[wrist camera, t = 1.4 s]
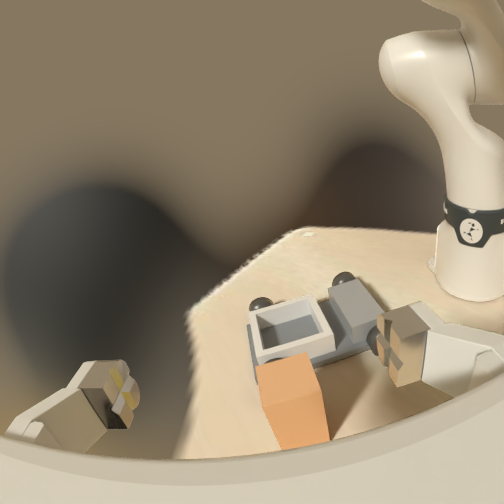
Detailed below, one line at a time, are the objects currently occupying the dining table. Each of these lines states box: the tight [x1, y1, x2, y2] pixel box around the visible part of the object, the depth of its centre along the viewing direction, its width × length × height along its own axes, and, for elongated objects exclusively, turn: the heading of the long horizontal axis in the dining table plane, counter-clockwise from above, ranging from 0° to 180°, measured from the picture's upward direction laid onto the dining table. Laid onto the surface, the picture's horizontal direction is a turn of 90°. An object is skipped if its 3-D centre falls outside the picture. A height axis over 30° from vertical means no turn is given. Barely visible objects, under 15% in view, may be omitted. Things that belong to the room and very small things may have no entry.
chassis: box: [247, 272, 385, 385], centre depth 42 cm, size 20×16×4 cm
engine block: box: [255, 352, 330, 450], centre depth 27 cm, size 5×5×10 cm
